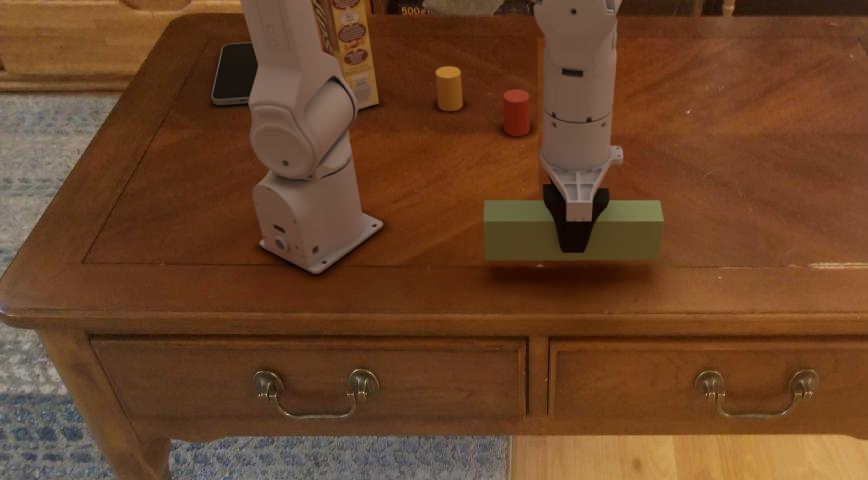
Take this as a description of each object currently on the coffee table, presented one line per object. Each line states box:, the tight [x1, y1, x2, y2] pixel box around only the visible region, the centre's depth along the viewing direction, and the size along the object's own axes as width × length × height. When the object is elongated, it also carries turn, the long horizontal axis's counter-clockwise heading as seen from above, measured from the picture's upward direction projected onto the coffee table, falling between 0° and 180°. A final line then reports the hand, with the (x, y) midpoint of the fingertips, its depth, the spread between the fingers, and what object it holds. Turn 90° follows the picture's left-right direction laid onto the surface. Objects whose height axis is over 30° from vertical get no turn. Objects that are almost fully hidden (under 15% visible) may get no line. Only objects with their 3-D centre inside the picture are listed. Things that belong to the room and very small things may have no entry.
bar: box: [482, 199, 665, 262], centre depth 77 cm, size 16×3×4 cm, turn 91°
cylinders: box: [435, 65, 531, 137], centre depth 100 cm, size 3×13×4 cm, turn 56°
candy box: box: [311, 0, 380, 111], centre depth 100 cm, size 9×4×15 cm, turn 33°
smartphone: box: [211, 41, 258, 106], centre depth 108 cm, size 7×1×15 cm
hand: (572, 237), depth 78 cm, fingers closed on bar, 3 cm apart
